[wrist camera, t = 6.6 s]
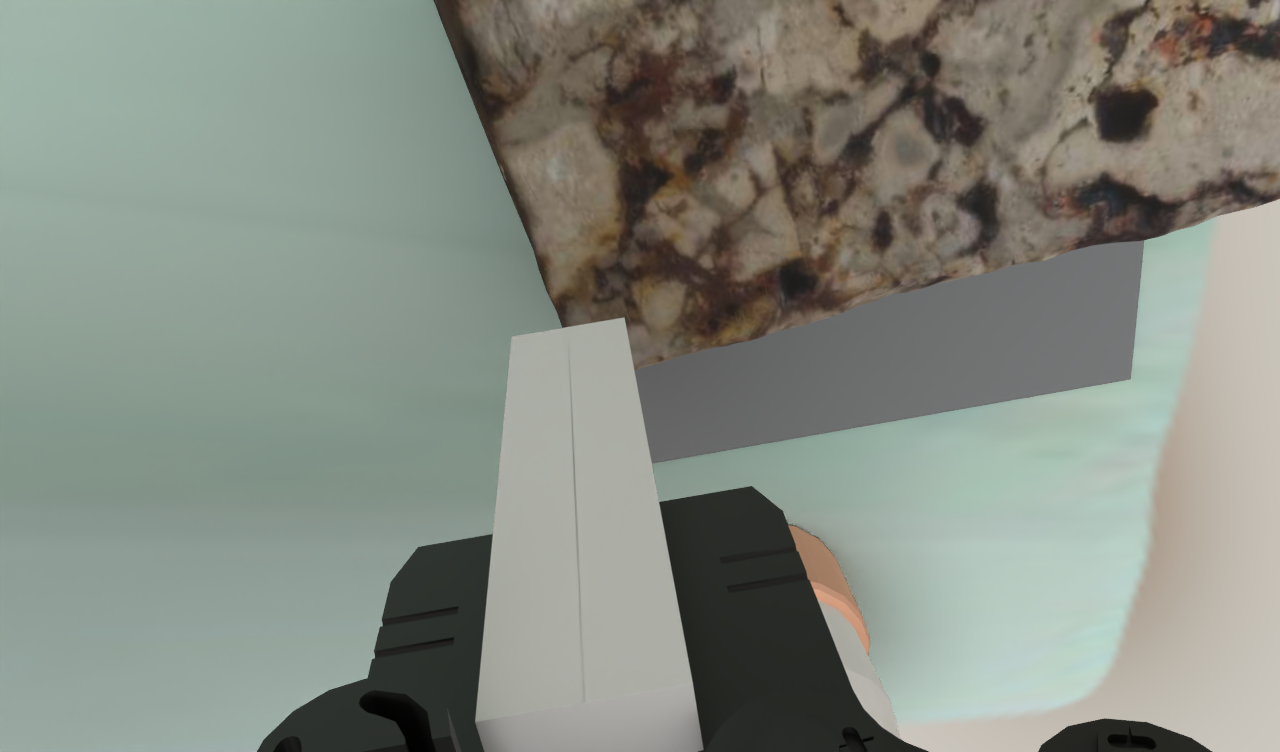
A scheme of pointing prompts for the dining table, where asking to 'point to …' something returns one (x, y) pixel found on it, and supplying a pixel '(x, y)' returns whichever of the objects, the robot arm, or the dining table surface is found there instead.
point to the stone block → (853, 144)
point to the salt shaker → (845, 626)
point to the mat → (905, 356)
